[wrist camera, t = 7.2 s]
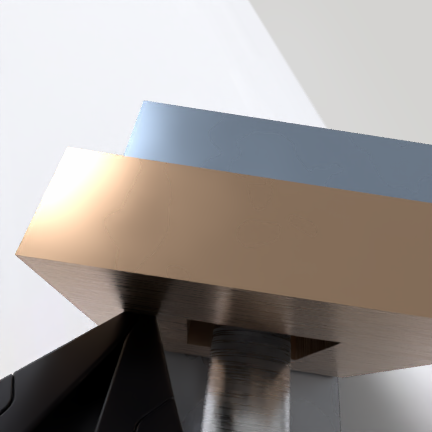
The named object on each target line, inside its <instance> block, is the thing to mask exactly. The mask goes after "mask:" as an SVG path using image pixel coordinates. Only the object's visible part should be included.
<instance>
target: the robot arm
mask: <svg viewBox="0 0 432 432" xmlns="http://www.w3.org/2000/svg"><path fill="white" fill-rule="evenodd" d="M0 432H183V430H182V426H181V422H180V419H179V415H178V411H177V406H176V402H175V399H174V394H173V389H172V385H171V380H170V376H169V371H168V367H167V362H166V358H165V353H164V349H163V344H162V340H161V335H160V331H159V326H158V322H157V317H156V316H153V315H146V314H138V313H133V312H127V311H124V312H122V313H120V314H118V315H117V316H115V317H113V318H111V319H109V320H108V321H106V322H104V323H102V324H100V325H99V326H97V327H95V328H93V329H91V330H90V331H88V332H86V333H84V334H82V335H81V336H79V337H77V338H75V339H73V340H72V341H70V342H68V343H66V344H64V345H63V346H61V347H59V348H57V349H55V350H54V351H52V352H50V353H48V354H46V355H45V356H43V357H41V358H39V359H37V360H36V361H34V362H32V363H30V364H28V365H27V366H25V367H23V368H21V369H19V370H18V371H16V372H14V373H13V375H12V374H10V375H8V376H6V377H5V378H3V379H1V380H0Z"/></svg>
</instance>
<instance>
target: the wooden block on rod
mask: <svg viewBox="0 0 432 432" xmlns="http://www.w3.org/2000/svg"><path fill="white" fill-rule="evenodd" d="M15 255H16V256H17V257H18V258H19V259H21V260H22V261H23V262H24V263H25V264H26V265H28V266H29V267H30V268H31V269H32V270H34V271H35V272H36V273H37V274H38V275H39V276H41V277H42V278H43V279H44V280H45V281H46V282H48V283H49V284H50V285H51V286H52V287H53V288H55V289H56V290H57V291H58V292H59V293H61V294H62V295H63V296H64V297H65V298H66V299H68V300H69V301H70V302H71V303H72V304H73V305H75V306H76V307H77V308H78V309H79V310H80V311H82V312H83V313H84V314H85V315H86V316H88V317H89V318H90V319H91V320H92V321H93V322H95V323H96V324H97V325H98V326H99V325H100V324H102V323H104V322H106V321H108V320H109V319H111V318H113V317H115V316H117V315H118V314H120V313H122V312H124V311H127V312H133V313H138V314H146V315H153V316H156V317H157V322H158V326H159V331H160V335H161V340H162V344H163V349H164V351H169V352H175V353H182V354H189V355H195V356H202V357H208V358H210V352H211V344H212V336H213V328H214V323H215V324H221V325H228V326H234V327H241V328H248V329H254V330H261V331H267V332H274V333H281V334H287V335H291V362H290V370H294V371H301V372H308V373H314V374H321V375H327V376H334V377H341V378H344V377H350V376H357V375H364V374H370V373H377V372H384V371H391V370H397V369H404V368H411V367H417V366H424V365H431V364H432V203H428V202H421V201H415V200H408V199H402V198H395V197H389V196H382V195H376V194H369V193H363V192H356V191H350V190H343V189H337V188H330V187H324V186H317V185H310V184H304V183H297V182H291V181H284V180H278V179H271V178H265V177H258V176H252V175H245V174H239V173H232V172H226V171H219V170H213V169H206V168H200V167H193V166H187V165H180V164H173V163H167V162H160V161H154V160H147V159H141V158H134V157H128V156H121V155H115V154H108V153H102V152H95V151H89V150H82V149H76V148H69V147H68V148H67V150H66V152H65V154H64V156H63V158H62V160H61V162H60V164H59V166H58V168H57V170H56V172H55V174H54V176H53V178H52V181H51V183H50V185H49V187H48V189H47V191H46V193H45V195H44V197H43V199H42V201H41V203H40V205H39V207H38V209H37V211H36V213H35V215H34V217H33V219H32V221H31V223H30V225H29V227H28V229H27V231H26V233H25V235H24V237H23V239H22V241H21V243H20V245H19V247H18V249H17V251H16V253H15Z"/></svg>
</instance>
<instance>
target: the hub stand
mask: <svg viewBox="0 0 432 432" xmlns="http://www.w3.org/2000/svg"><path fill="white" fill-rule="evenodd" d="M124 156H128V157H134V158H141V159H147V160H154V161H160V162H167V163H173V164H180V165H187V166H193V167H200V168H206V169H213V170H219V171H226V172H232V173H239V174H245V175H252V176H258V177H265V178H271V179H278V180H284V181H291V182H297V183H304V184H310V185H317V186H324V187H330V188H337V189H343V190H350V191H356V192H363V193H369V194H376V195H382V196H389V197H395V198H402V199H408V200H415V201H421V202H428V203H432V145H429V144H422V143H416V142H410V141H403V140H397V139H390V138H384V137H377V136H371V135H364V134H358V133H351V132H345V131H338V130H332V129H325V128H319V127H312V126H306V125H299V124H293V123H286V122H280V121H273V120H267V119H260V118H254V117H247V116H241V115H234V114H228V113H221V112H215V111H208V110H202V109H195V108H189V107H182V106H176V105H169V104H163V103H156V102H150V101H144V102H143V104H142V107H141V110H140V112H139V115H138V118H137V121H136V123H135V126H134V129H133V132H132V134H131V137H130V140H129V143H128V145H127V148H126V151H125V153H124ZM164 353H165V358H166V362H167V367H168V371H169V376H170V380H171V385H172V389H173V394H174V399H175V402H176V406H177V411H178V415H179V419H180V422H181V426H182V430H183V432H341V427H340V410H339V394H338V377H334V376H327V375H321V374H314V373H308V372H301V371H294V370H290V362H291V335H287V334H281V333H274V332H267V331H261V330H254V329H248V328H241V327H234V326H228V325H221V324H215V323H214V328H213V336H212V344H211V352H210V358H208V357H202V356H195V355H189V354H182V353H175V352H169V351H164Z"/></svg>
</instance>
